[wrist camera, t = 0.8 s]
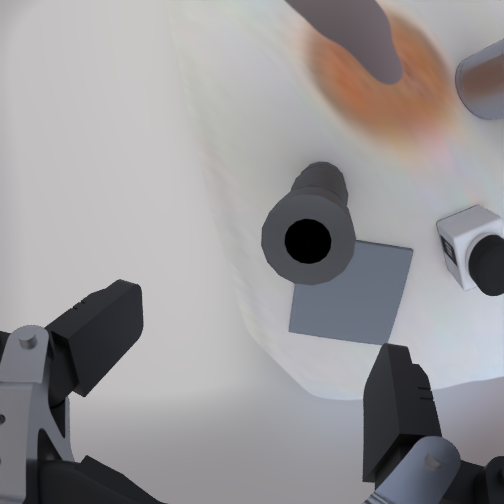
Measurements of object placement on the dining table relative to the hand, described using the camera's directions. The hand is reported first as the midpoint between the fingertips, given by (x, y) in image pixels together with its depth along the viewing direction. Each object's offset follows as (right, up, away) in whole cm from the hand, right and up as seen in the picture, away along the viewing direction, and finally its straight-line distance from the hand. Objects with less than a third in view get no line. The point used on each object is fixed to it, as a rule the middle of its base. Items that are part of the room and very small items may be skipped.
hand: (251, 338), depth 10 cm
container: (+30, +5, +29) cm, 42 cm away
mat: (+14, -3, +36) cm, 39 cm away
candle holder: (+9, +12, +32) cm, 35 cm away
